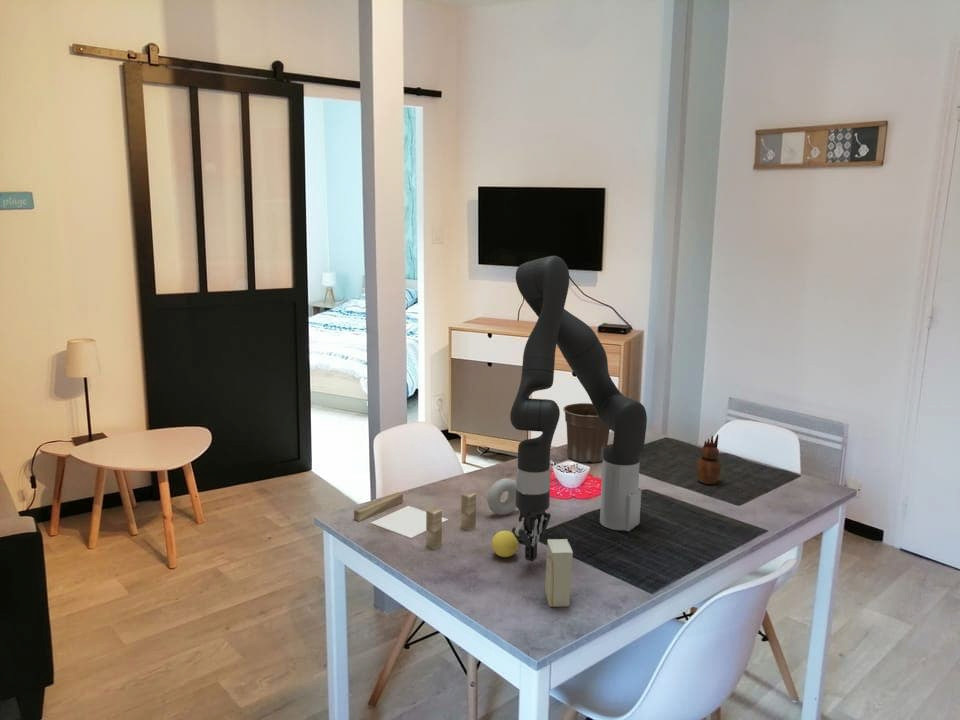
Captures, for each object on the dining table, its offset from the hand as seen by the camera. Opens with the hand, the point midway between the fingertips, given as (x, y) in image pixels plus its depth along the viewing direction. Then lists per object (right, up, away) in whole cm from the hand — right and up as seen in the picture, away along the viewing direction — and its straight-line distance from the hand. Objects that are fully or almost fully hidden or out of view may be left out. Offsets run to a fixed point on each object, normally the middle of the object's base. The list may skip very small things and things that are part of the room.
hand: (530, 559), depth 169 cm
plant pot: (+23, +13, +73) cm, 78 cm away
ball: (-6, +2, +4) cm, 8 cm away
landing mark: (-29, +4, +23) cm, 37 cm away
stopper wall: (-38, +5, +29) cm, 48 cm away
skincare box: (+5, -5, -14) cm, 15 cm away
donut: (-5, +4, +28) cm, 29 cm away
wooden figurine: (+56, +9, +53) cm, 77 cm away
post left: (-22, +1, +9) cm, 24 cm away
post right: (-14, +3, +20) cm, 24 cm away
